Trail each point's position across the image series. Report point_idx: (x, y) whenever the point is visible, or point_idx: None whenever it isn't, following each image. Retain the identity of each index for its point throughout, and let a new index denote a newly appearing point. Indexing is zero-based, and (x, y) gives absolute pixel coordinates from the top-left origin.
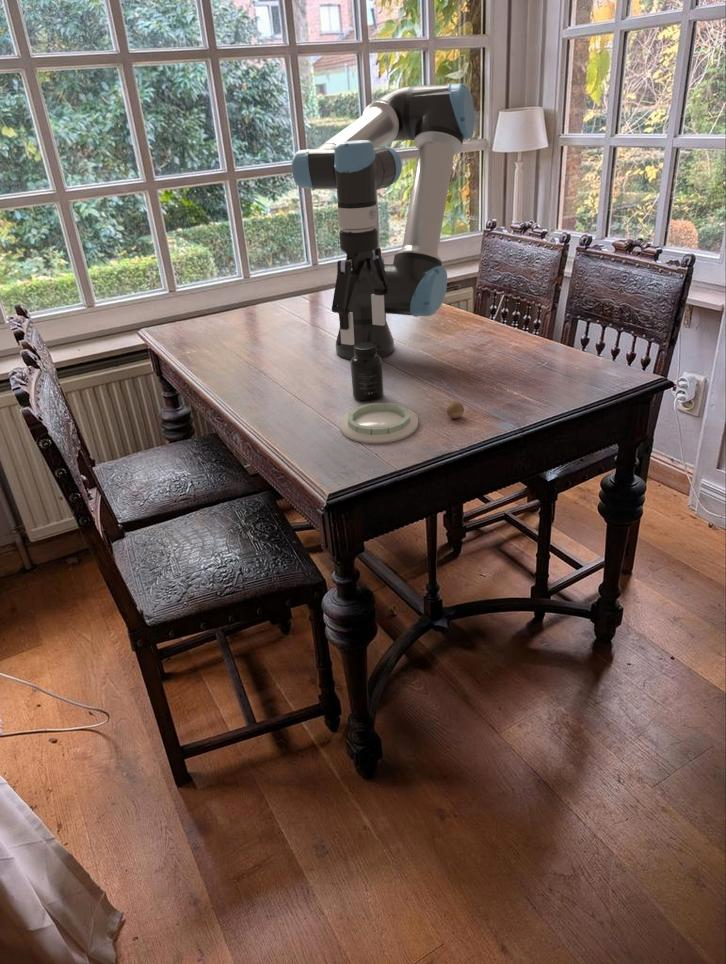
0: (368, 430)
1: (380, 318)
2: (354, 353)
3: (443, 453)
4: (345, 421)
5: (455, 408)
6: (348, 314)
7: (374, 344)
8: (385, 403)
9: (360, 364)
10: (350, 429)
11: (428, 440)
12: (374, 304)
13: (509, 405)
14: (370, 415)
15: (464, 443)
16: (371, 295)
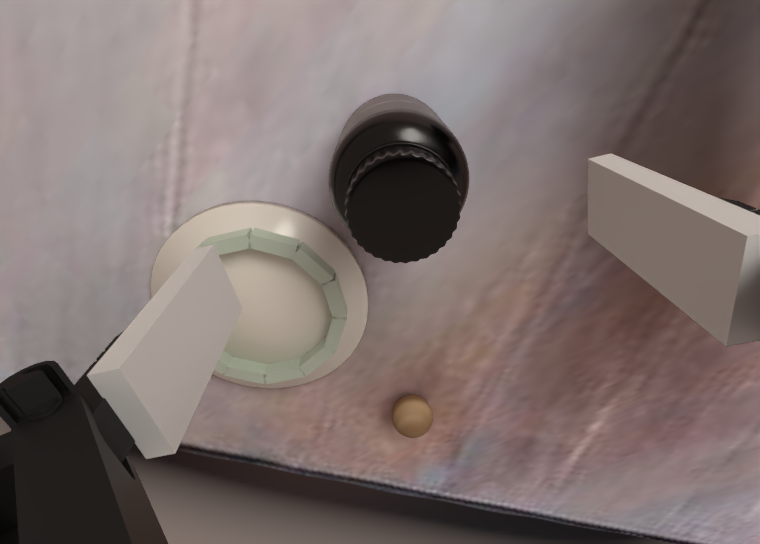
0: None
1: (611, 232)
2: (351, 172)
3: (265, 457)
4: (190, 242)
5: (399, 432)
6: (139, 436)
7: (437, 244)
8: (328, 284)
9: (338, 209)
10: None
11: (286, 415)
12: (676, 229)
13: (526, 444)
14: (269, 271)
15: (323, 462)
16: (741, 238)
